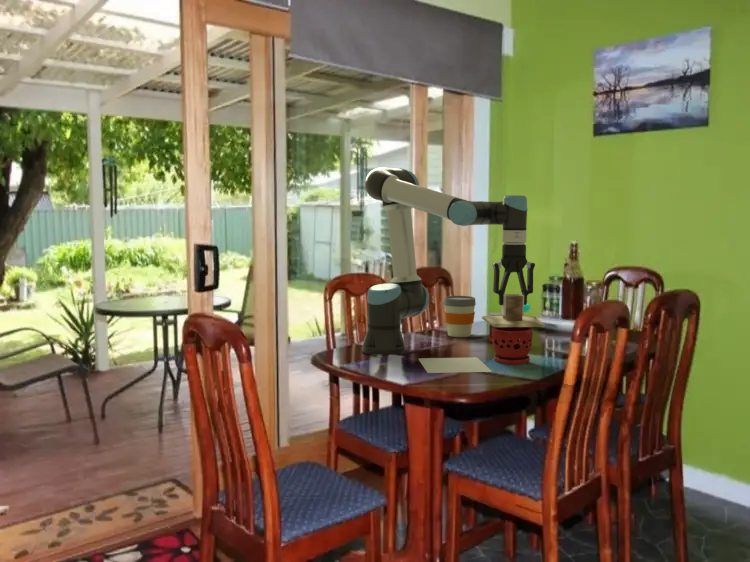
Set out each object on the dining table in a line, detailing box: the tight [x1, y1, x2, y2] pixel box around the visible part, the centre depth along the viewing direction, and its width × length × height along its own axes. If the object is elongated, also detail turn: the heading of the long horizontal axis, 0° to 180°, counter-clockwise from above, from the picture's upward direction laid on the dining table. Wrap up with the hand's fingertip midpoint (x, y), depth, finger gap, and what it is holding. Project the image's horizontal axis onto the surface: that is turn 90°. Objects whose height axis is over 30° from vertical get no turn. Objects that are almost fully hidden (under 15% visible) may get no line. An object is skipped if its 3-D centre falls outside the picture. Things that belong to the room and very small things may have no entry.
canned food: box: [488, 311, 503, 344], centre depth 255 cm, size 8×8×11 cm
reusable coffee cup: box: [443, 295, 477, 338], centre depth 269 cm, size 13×13×15 cm
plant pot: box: [491, 327, 534, 365], centre depth 222 cm, size 13×13×12 cm
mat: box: [417, 356, 493, 374], centre depth 217 cm, size 20×20×1 cm
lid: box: [481, 293, 545, 328], centre depth 220 cm, size 16×16×9 cm
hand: (512, 314), depth 221 cm, fingers open, 5 cm apart
